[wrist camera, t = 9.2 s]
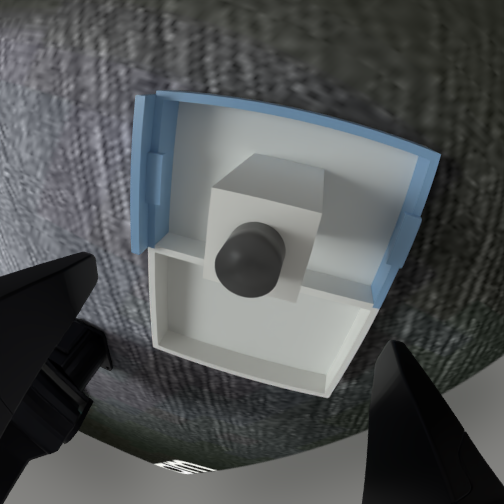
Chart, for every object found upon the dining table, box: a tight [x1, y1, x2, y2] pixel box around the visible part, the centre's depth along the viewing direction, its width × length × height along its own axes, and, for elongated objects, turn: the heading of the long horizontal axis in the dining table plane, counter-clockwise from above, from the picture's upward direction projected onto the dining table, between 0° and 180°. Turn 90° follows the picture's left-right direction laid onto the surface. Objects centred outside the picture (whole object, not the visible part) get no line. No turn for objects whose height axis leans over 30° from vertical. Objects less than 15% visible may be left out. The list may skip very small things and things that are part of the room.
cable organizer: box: [130, 90, 441, 398], centre depth 19 cm, size 20×16×4 cm
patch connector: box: [203, 153, 324, 303], centre depth 14 cm, size 4×4×9 cm
